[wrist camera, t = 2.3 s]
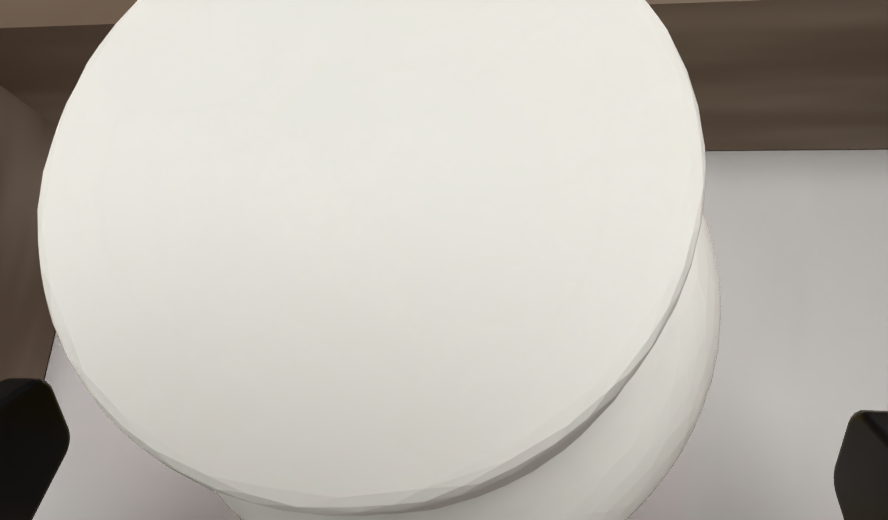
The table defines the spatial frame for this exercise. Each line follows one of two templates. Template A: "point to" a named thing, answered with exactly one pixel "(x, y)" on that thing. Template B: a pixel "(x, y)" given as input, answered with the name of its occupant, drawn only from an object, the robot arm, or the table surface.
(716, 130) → the cubby
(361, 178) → the supplement bottle
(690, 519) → the table surface
